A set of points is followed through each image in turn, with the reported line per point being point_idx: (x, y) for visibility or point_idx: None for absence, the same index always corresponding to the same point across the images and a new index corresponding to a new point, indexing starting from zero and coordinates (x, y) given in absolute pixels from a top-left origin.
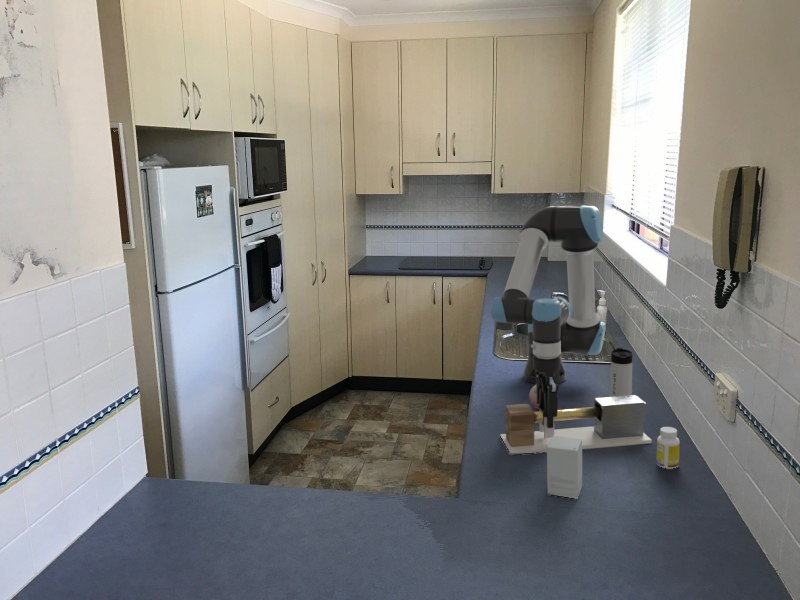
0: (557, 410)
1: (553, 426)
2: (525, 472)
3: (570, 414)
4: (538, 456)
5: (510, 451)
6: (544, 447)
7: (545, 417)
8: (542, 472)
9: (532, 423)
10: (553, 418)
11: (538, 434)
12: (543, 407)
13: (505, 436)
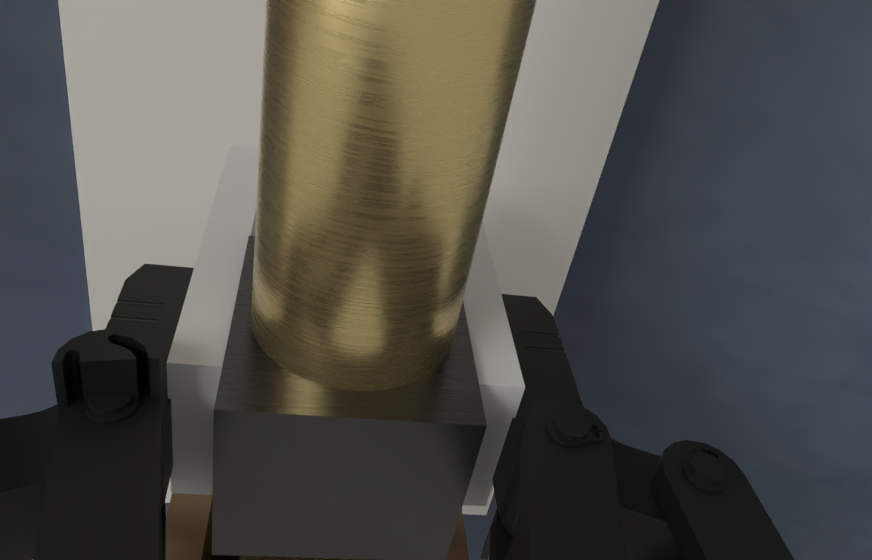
0: (376, 297)
1: (489, 271)
2: (762, 479)
3: (529, 17)
4: (594, 335)
5: (474, 512)
6: (528, 278)
7: (485, 482)
8: (837, 396)
9: (460, 556)
10: (511, 360)
11: (185, 212)
12: (221, 509)
13: (170, 478)
